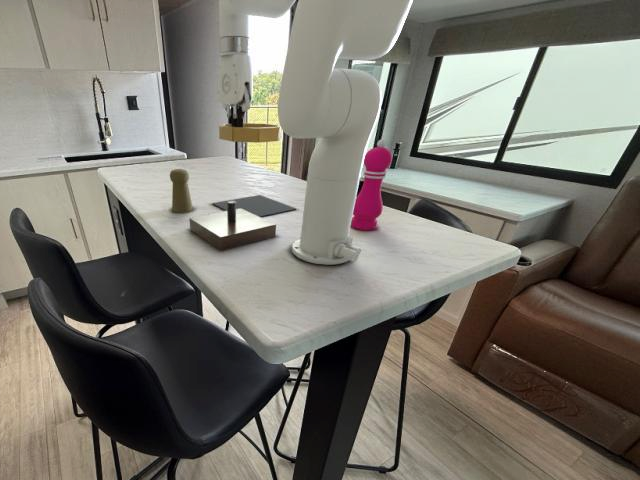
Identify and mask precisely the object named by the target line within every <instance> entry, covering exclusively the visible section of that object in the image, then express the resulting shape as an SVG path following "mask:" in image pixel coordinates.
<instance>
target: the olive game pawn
mask: <svg viewBox="0 0 640 480" xmlns="http://www.w3.org/2000/svg"><path fill="white" fill-rule="evenodd" d="M169 179H170V181H171V182H172V190H171V191H172V197H171V198H172V199H171V200H172V201H171V210H172V212H174V213H178V214H179V213H180V214H185V213H189V212H192V211H193V210H194V208H193V201H192V197H191V192H190V188H189V183H188V182H189V180H190V173H189V171H187V169H185V168H175V169H171V171H170V173H169Z"/></svg>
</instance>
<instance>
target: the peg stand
mask: <svg viewBox="0 0 640 480" xmlns="http://www.w3.org/2000/svg"><path fill="white" fill-rule="evenodd" d="M227 201H228V202H227V211H225V210H223V211H219V212H214V213H208V214H203V215H198V216H193V217H189V230H190V231H191V232H193V233H194V234H196V235H197V236H199V237H200V238H202V239H203V240H205V241H206V242H207V243H209V244H210V245H212V246H214V247H215V248H217V249H218V250H220V251H224V250H228V249H232V248H236V247H240V246H244V245H248V244H252V243H255V242H259V241H264V240H267V239H271V238H275V237H276V234H277V223H275V222H272V221H270V220H268V219H265V218H264V217H259V216H257V215H254V214H252V213H250V212H248V211H246V210H243V209H241V208H240V209H236V202H235V201H229V200H227Z"/></svg>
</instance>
